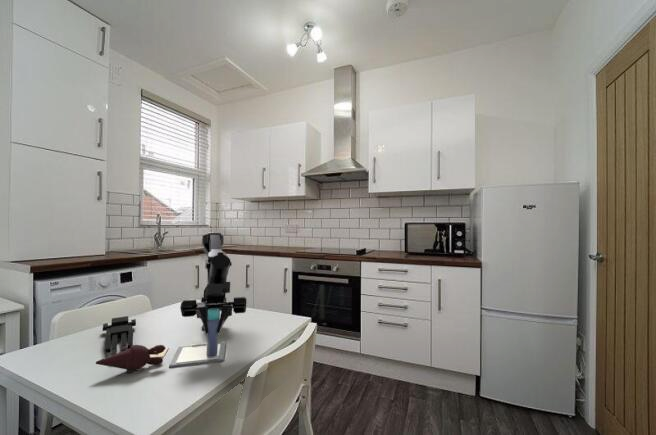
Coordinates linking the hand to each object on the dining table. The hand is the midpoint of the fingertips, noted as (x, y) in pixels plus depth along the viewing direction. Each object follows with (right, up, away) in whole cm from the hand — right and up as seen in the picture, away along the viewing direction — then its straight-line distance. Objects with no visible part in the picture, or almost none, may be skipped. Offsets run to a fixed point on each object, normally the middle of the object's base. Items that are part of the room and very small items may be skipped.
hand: (212, 333), depth 79 cm
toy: (-34, -8, +9) cm, 36 cm away
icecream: (-19, -7, -7) cm, 21 cm away
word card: (-18, -8, +3) cm, 20 cm away
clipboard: (-5, -8, +3) cm, 10 cm away
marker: (-1, -7, +1) cm, 7 cm away
